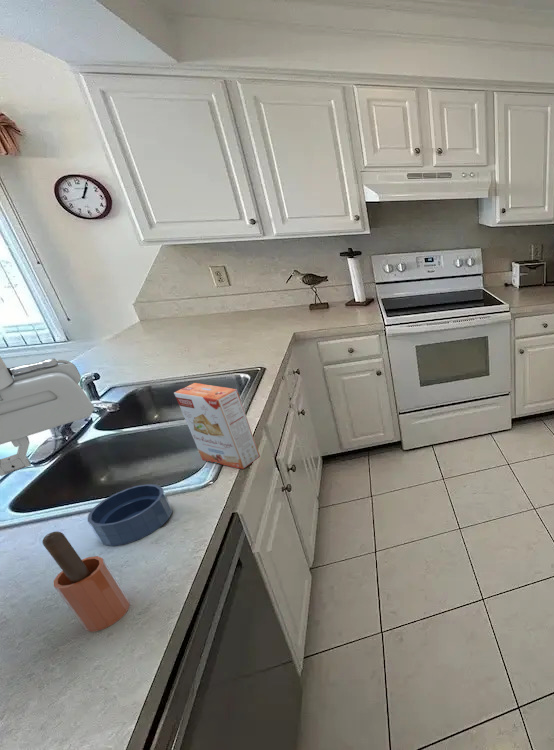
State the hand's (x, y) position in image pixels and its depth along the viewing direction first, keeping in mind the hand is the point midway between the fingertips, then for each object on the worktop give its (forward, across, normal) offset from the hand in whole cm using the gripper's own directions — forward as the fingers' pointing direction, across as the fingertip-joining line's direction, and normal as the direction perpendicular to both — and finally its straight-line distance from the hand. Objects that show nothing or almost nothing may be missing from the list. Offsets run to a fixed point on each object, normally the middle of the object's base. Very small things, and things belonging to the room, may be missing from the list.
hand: (16, 469), depth 57 cm
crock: (+30, 0, +1) cm, 31 cm away
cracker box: (+31, -30, -31) cm, 53 cm away
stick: (+30, 0, +1) cm, 30 cm away
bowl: (+30, -8, -22) cm, 38 cm away
